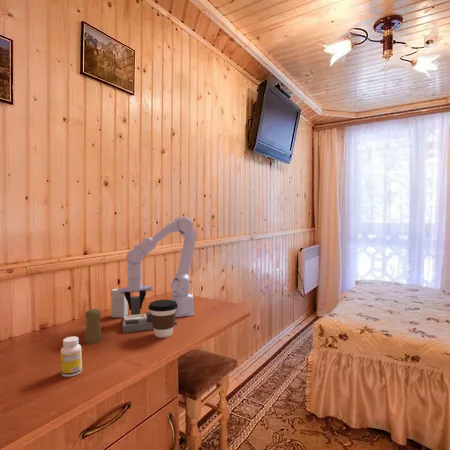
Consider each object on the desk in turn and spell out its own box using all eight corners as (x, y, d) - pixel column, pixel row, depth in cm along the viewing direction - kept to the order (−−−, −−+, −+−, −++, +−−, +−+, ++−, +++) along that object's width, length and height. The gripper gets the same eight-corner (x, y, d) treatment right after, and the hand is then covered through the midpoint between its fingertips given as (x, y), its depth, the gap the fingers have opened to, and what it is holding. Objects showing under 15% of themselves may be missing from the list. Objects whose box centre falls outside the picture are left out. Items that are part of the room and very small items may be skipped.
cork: (106, 338, 119) (105, 308, 119) (94, 344, 113) (93, 313, 113) (92, 336, 121) (92, 306, 121) (80, 342, 115) (80, 311, 115)
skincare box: (128, 314, 147) (127, 288, 147) (124, 317, 143) (124, 290, 142) (115, 314, 148) (114, 288, 147) (111, 317, 143) (110, 290, 143)
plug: (139, 311, 141) (139, 295, 141) (140, 314, 138) (139, 297, 138) (130, 312, 140) (130, 295, 140) (131, 315, 137) (131, 297, 137)
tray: (145, 316, 144) (145, 314, 144) (146, 321, 137) (146, 318, 137) (123, 318, 141) (123, 316, 141) (124, 324, 134) (124, 321, 134)
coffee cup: (183, 332, 125) (183, 301, 124) (165, 342, 115) (165, 308, 115) (161, 327, 130) (161, 297, 130) (142, 336, 120) (142, 304, 120)
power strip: (175, 320, 138) (175, 307, 138) (179, 326, 132) (178, 312, 131) (122, 327, 131) (122, 313, 131) (123, 332, 124) (123, 318, 124)
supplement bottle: (65, 368, 95) (65, 335, 95) (84, 367, 96) (84, 335, 96) (57, 377, 90) (57, 342, 90) (78, 376, 91) (77, 342, 90)
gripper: (150, 274, 145) (151, 304, 145) (116, 277, 140) (117, 308, 140) (152, 277, 138) (153, 309, 139) (117, 280, 133) (117, 312, 134)
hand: (135, 309), depth 139 cm, fingers closed on plug, 4 cm apart
